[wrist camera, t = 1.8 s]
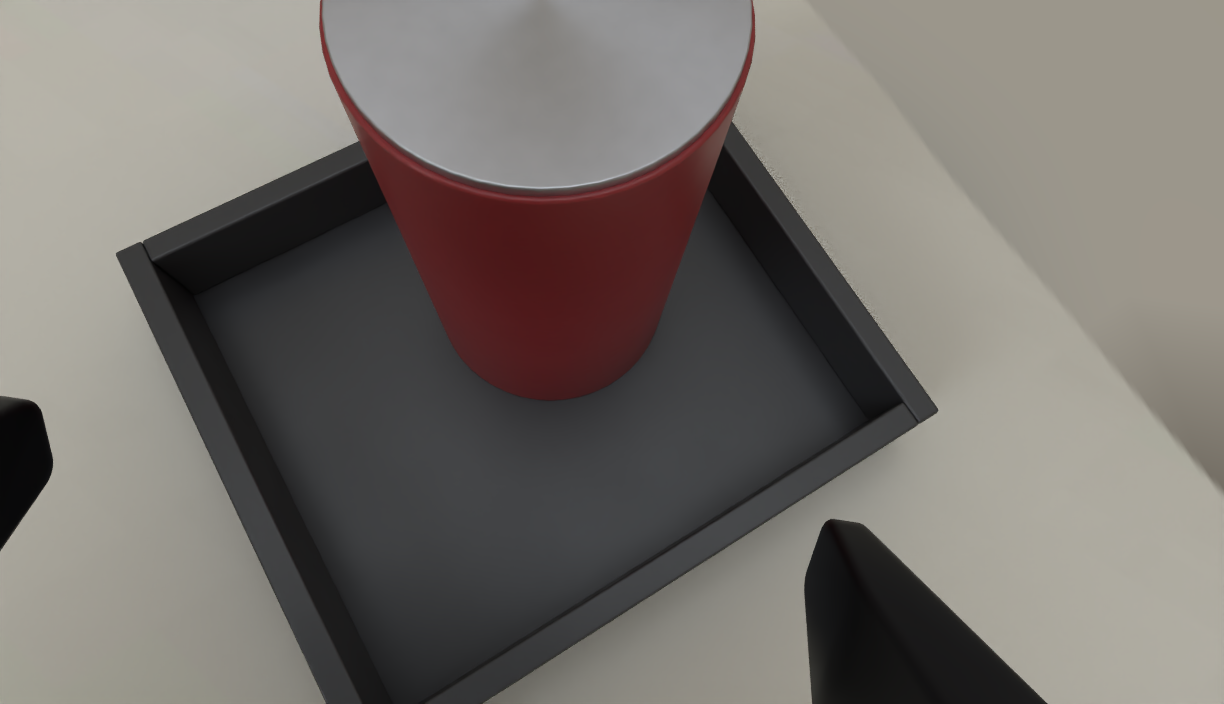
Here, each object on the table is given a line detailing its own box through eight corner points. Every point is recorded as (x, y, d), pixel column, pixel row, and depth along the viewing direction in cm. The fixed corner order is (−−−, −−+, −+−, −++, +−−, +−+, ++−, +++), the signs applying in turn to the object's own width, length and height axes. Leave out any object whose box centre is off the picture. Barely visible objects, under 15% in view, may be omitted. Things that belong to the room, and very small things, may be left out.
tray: (389, 754, 20) (361, 780, 17) (168, 293, 23) (114, 252, 20) (895, 431, 23) (940, 410, 20) (640, 67, 26) (650, 5, 24)
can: (507, 442, 22) (445, 277, 10) (400, 254, 23) (239, -78, 12) (703, 331, 23) (845, 73, 12) (590, 159, 25) (615, -224, 13)
